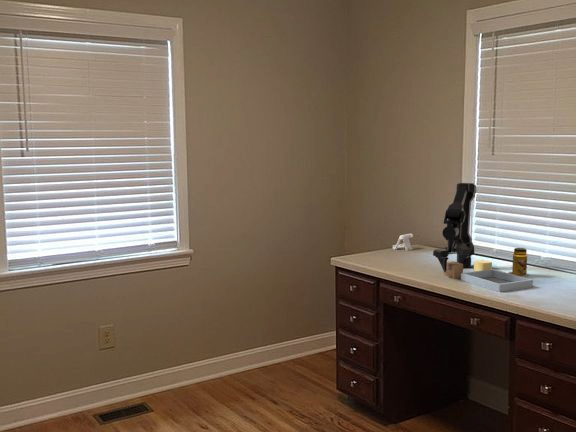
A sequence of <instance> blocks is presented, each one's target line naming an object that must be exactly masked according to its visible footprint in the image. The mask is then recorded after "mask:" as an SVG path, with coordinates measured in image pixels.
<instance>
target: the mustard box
mask: <svg viewBox="0 0 576 432" xmlns="http://www.w3.org/2000/svg"><path fill="white" fill-rule="evenodd" d="M473 261H474V262H473V272H474V271H482V270H490V269H493V268H492V267H493V262H492V261H488V260H484V259H479V260H473Z"/></svg>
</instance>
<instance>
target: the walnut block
mask: <svg viewBox="0 0 576 432" xmlns="http://www.w3.org/2000/svg"><path fill="white" fill-rule="evenodd" d="M461 273H464V268H463V264H462V263H458V262H457V261H454V260H450V261H447V269H446V272H444V271H443V276H445V277H447V278H452V279H461Z"/></svg>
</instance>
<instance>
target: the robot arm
mask: <svg viewBox="0 0 576 432" xmlns="http://www.w3.org/2000/svg"><path fill="white" fill-rule="evenodd" d="M477 187H478V186H477V185H476V184H475V182H459V183H457V184H456V190H455V194H454V198H453V200H452V201H453V202H452V203H451V204H449V205H448V207H447V209H446V210H445V214H444V219H443V225H446V227H444V228H443V230H442V234H441V235H442V237H443V238H444V239H445V241H447V246H445V249H443V248H436V249H434V250H433V253H432V256H435V258H437V260H438V262H439V264H440V266H441V269H442V270H443V273H444V272H446V269H447V262H448V260H449V255H453V254H454V255H455V254H456V262H458V263H462V264H463V269H467V268H474V265H472V256H473V255H476V254H475V253H476V251H475V245H474V243H473V238H472V236H471V234H470V223H471V221H470V220H471V209H472V207H471V206H472V202H473V200H474V199H475V197H476V194H477V189H478V188H477Z"/></svg>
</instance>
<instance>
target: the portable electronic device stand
mask: <svg viewBox="0 0 576 432" xmlns="http://www.w3.org/2000/svg"><path fill="white" fill-rule="evenodd" d="M413 237H414V234H413V233H406V234H401V235H399V238H398V239H397V242H396V244H393V245H392V250H399V249H404V248H405V249H404V250H405V251H407V252H408V251H409V250H410V251H412V250H413V247H412V245H411V241H410V238H413ZM401 240H402V241H403V243H401Z"/></svg>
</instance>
